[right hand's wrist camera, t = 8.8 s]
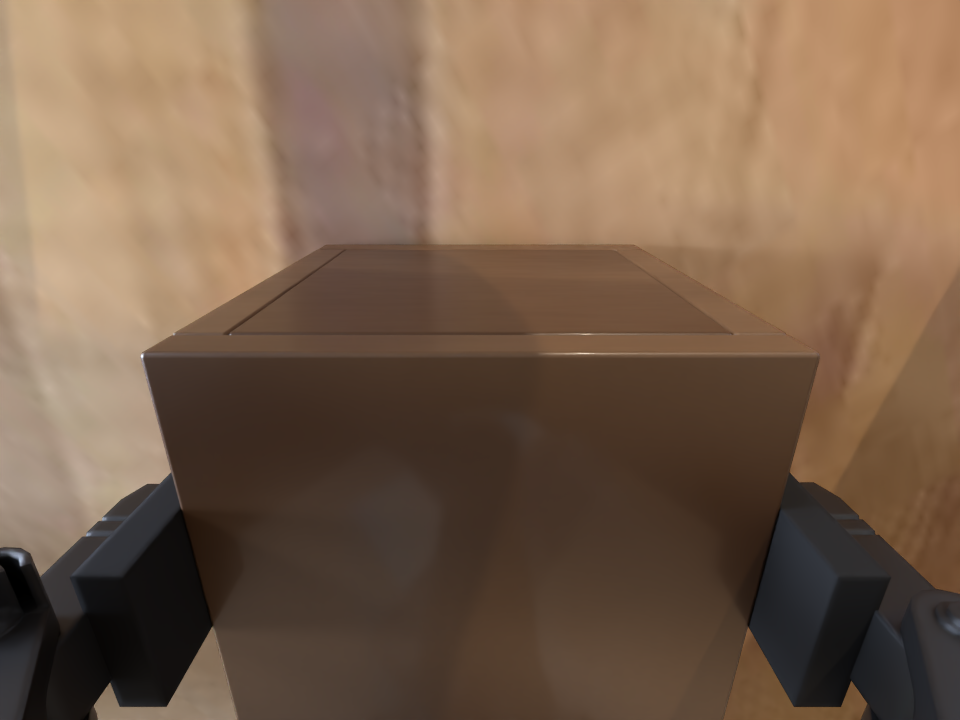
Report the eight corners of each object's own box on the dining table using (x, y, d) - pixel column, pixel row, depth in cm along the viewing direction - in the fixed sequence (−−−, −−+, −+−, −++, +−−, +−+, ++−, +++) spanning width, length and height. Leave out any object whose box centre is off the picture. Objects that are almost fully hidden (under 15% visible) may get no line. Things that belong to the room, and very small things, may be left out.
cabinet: (585, 684, 24) (649, 1000, 15) (374, 684, 24) (311, 1001, 15) (635, 244, 17) (824, 353, 7) (324, 244, 17) (136, 353, 7)
